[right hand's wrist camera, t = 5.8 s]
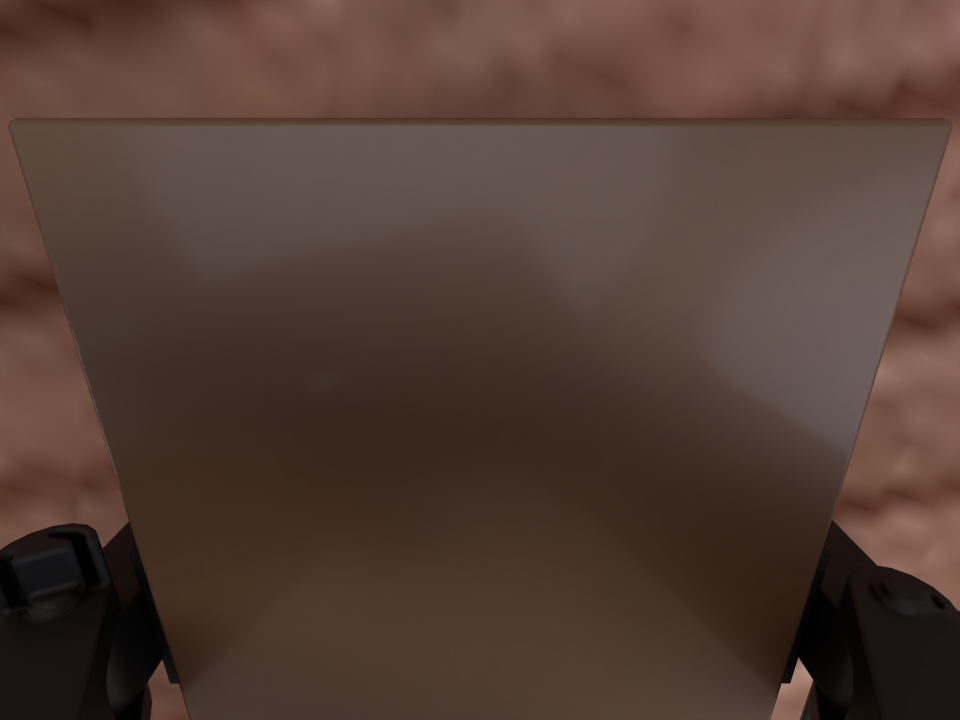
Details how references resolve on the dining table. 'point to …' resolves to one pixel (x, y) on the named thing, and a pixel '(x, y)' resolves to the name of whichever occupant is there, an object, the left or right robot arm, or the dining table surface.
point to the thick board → (480, 394)
